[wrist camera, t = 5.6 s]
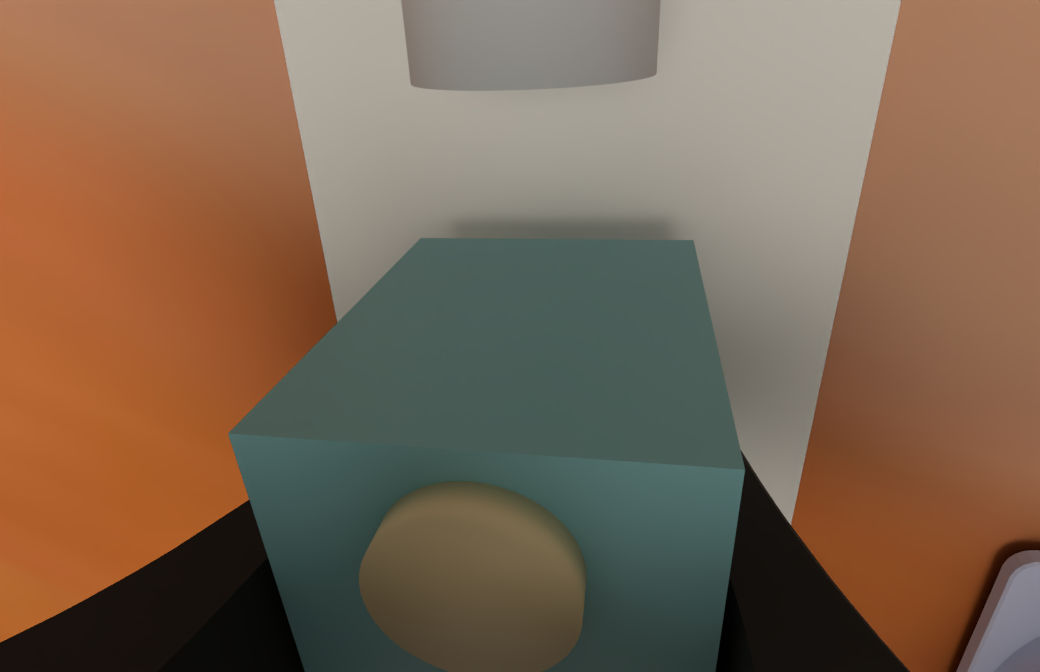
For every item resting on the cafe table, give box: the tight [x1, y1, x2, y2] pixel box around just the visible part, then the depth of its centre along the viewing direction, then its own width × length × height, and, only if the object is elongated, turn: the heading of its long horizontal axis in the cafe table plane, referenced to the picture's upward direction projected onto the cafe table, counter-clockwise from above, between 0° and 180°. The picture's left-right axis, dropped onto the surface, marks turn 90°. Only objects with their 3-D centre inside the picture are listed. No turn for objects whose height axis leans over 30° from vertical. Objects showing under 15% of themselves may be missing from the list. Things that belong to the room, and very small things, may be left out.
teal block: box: [228, 238, 745, 672], centre depth 8 cm, size 6×4×5 cm, turn 3°
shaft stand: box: [274, 0, 901, 525], centre depth 10 cm, size 9×25×6 cm, turn 2°
